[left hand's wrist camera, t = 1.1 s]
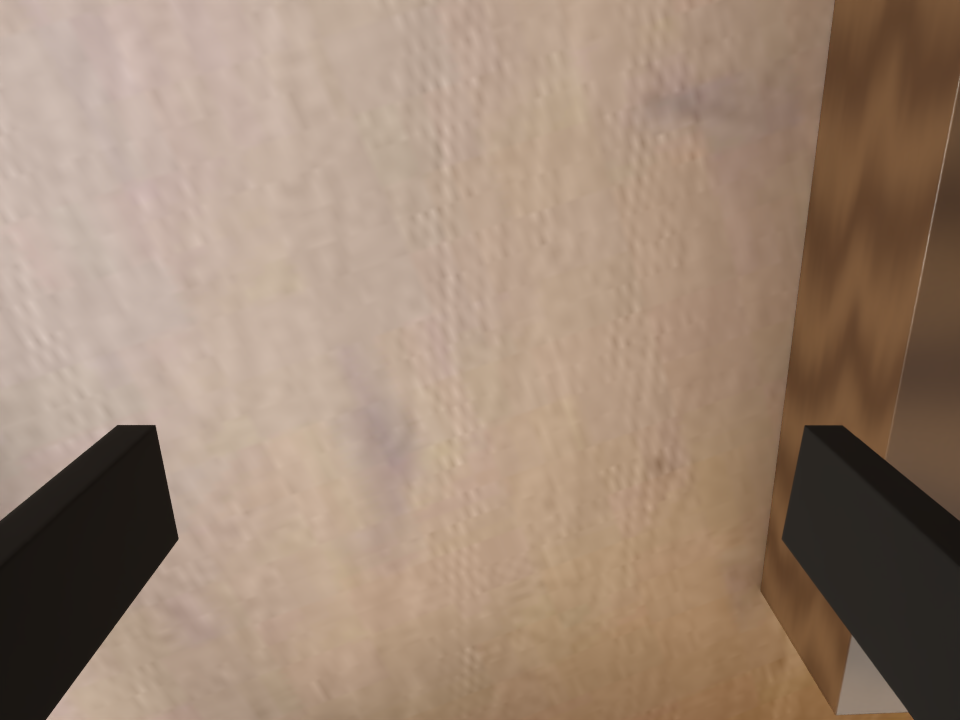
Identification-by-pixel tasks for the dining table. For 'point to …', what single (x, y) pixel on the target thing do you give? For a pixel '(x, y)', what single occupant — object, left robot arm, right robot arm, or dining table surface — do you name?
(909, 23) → the plank
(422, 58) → the dining table surface
